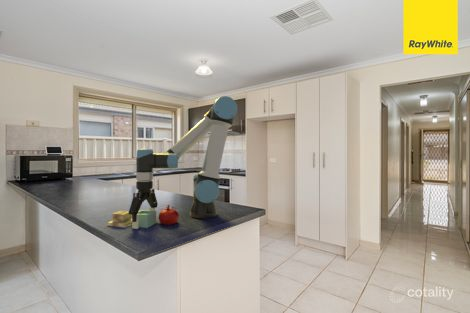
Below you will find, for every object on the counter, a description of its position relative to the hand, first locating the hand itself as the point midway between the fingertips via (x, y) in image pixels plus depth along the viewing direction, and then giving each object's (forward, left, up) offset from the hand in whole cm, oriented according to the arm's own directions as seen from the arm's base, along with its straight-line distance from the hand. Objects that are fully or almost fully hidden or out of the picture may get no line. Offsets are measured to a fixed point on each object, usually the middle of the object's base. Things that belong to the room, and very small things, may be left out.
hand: (144, 224), depth 119 cm
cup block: (0, 0, 0) cm, 0 cm away
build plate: (+10, +1, 0) cm, 11 cm away
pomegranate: (-10, -6, 0) cm, 12 cm away
